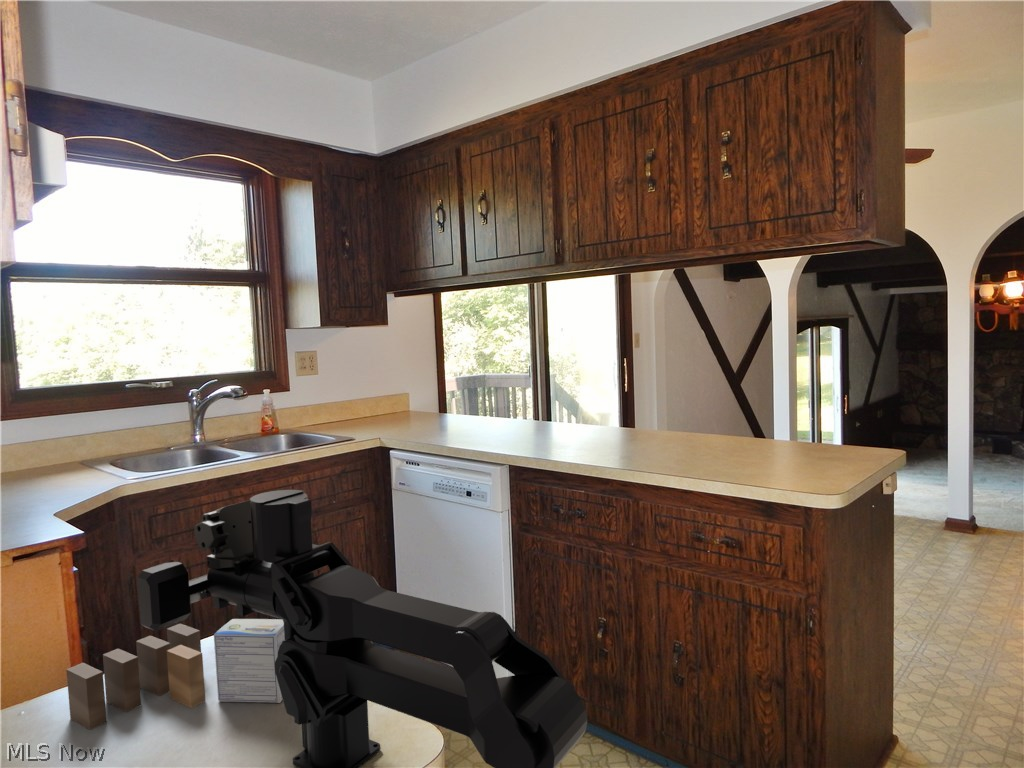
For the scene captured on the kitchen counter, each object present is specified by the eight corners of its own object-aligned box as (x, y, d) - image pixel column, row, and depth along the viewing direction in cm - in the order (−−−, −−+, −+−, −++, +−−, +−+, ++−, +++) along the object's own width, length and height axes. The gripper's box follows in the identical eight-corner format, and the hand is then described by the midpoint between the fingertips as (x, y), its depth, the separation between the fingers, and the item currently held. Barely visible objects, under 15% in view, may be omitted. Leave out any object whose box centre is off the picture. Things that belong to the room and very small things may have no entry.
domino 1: (87, 711, 79) (82, 662, 79) (106, 721, 77) (102, 671, 76) (70, 719, 77) (66, 669, 77) (90, 730, 75) (85, 678, 75)
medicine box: (295, 685, 84) (292, 618, 83) (280, 705, 79) (276, 634, 79) (235, 683, 84) (231, 617, 84) (216, 703, 80) (212, 633, 79)
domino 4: (182, 666, 89) (179, 623, 89) (202, 675, 87) (199, 630, 86) (169, 672, 88) (166, 628, 87) (189, 681, 85) (186, 636, 85)
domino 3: (153, 680, 86) (150, 635, 85) (173, 689, 83) (170, 643, 83) (139, 687, 84) (136, 641, 84) (159, 696, 82) (156, 649, 81)
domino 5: (183, 691, 83) (180, 644, 82) (205, 700, 81) (202, 652, 80) (170, 698, 81) (166, 650, 81) (191, 708, 79) (188, 659, 79)
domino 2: (121, 695, 82) (118, 648, 82) (141, 705, 80) (137, 656, 80) (106, 702, 81) (102, 654, 80) (126, 712, 79) (122, 663, 78)
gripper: (327, 493, 80) (244, 481, 88) (180, 535, 64) (96, 516, 73) (332, 583, 81) (249, 563, 89) (188, 647, 65) (103, 615, 73)
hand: (182, 562), depth 81 cm, fingers open, 9 cm apart
